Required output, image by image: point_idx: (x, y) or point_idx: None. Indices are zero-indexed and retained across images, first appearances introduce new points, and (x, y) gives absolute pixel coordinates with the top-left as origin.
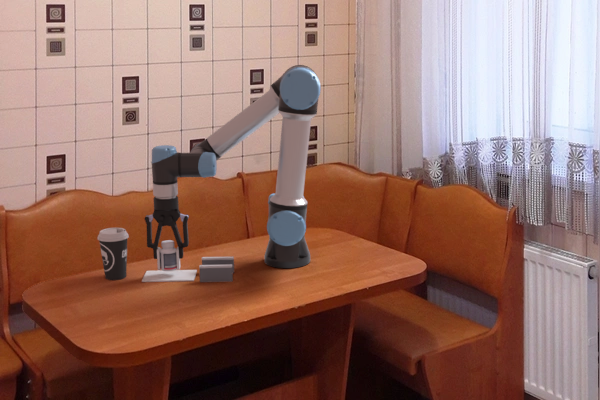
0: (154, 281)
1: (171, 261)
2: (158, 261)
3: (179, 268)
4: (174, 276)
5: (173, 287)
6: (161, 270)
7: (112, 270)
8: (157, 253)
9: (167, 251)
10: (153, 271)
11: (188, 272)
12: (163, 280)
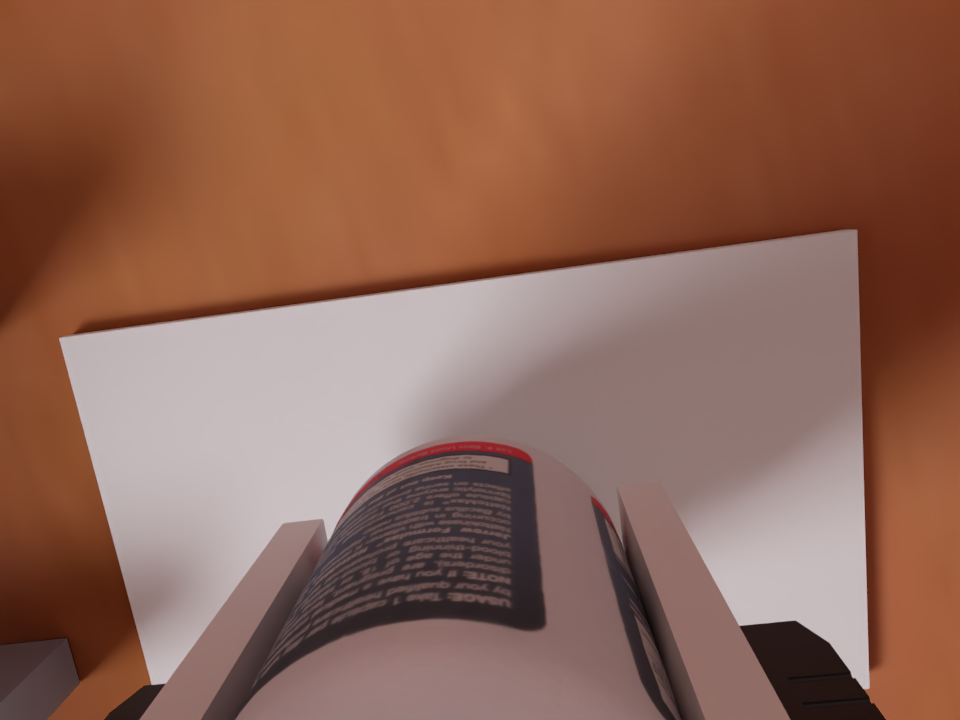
0: (647, 256)
1: (357, 535)
2: (673, 559)
3: (279, 540)
4: None
5: (276, 14)
6: None
7: None
8: (754, 688)
9: (397, 693)
10: None
11: None
12: (508, 277)
